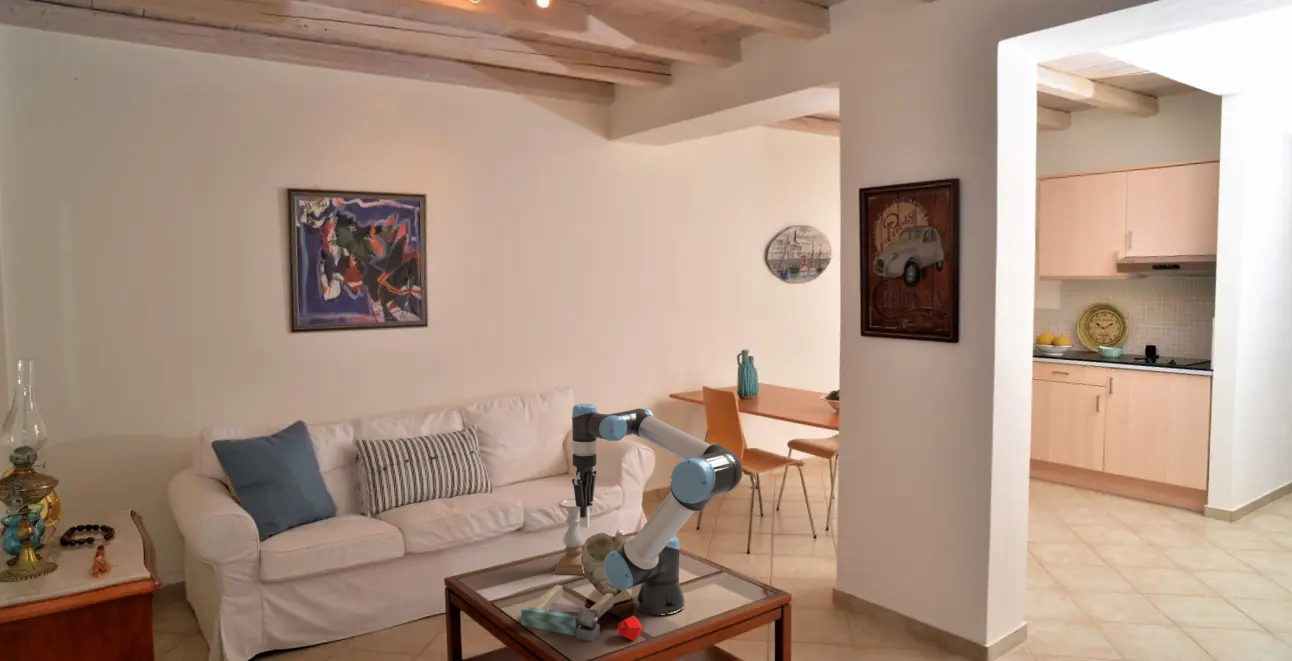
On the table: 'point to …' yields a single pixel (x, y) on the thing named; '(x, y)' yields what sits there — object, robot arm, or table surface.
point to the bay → (557, 621)
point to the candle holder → (571, 541)
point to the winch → (587, 625)
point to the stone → (565, 608)
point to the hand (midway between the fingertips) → (584, 526)
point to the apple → (630, 628)
